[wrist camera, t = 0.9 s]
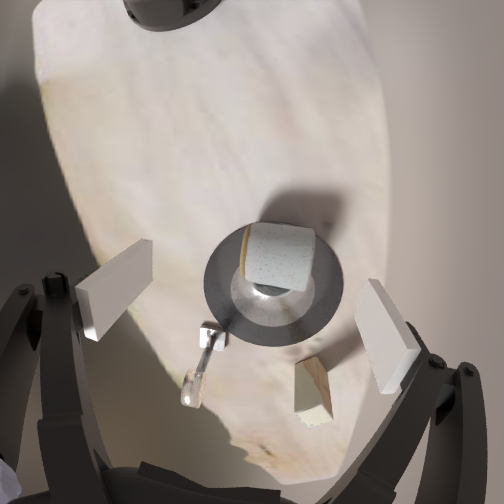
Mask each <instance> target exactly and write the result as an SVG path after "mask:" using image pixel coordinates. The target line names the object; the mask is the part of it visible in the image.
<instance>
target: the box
mask: <svg viewBox="0 0 504 504" xmlns="http://www.w3.org/2000/svg"><path fill="white" fill-rule="evenodd" d="M294 413H295V415H296V416H297V417H298V418H299V419H300V420H301V421H302V422H303V424H304V425H305V426H306V427H307V428H311V427H314V426H317V425H320V424H323V423H326V422H329V421H332V420H333V413H332V404H331V396H330V388H329V381H328V374H327V371H326V370H325V368H324V366H323V365H322V363H321V362H320V360H319V359H318V357H317V356H314V357H312V358H309V359H307V360H304V361H302V362H300V363H297V364H295V398H294Z"/></svg>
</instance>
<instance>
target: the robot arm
mask: <svg viewBox="0 0 504 504" xmlns="http://www.w3.org/2000/svg"><path fill="white" fill-rule="evenodd" d="M220 1H221V0H123V2H124V5H125V8H126V10H127V13H128V15H129V17H130V18H131V19H132V21H134V22H135V23H136V24H137V25H139V26H140V27H142V28H143V29H146V30H149V31H156V32H163V31H170V30H175V29H179V28H182V27H184V26H187V25H189V24H192V23H194V22H196V21H197V20H199V19H201V18H202V17H204V16H205V15H207V14H208V13H209V12H210V11H212V10H213V9H214V8H215V7H216V6H217V4H218V3H219V2H220ZM151 282H152V241H151V240H146V239H140V240H139V241H137V242H136V243H135V244H133V245H132V246H130V247H129V248H127V249H126V250H124V251H123V252H122V253H120V254H119V255H117V256H116V257H114V258H113V259H112V260H110V261H109V262H107V263H106V264H105V265H103V266H102V267H101V268H96V269H93V270H91V271H89V272H88V273H87V274H86V275H85V276H83V277H81V278H80V279H79V280H77V281H76V282H74V283H73V284H72V285H70V286H69V284H68V278H67V275H66V273H64V272H61V271H54V272H50V273H47V274H46V275H44V276H43V277H42V284H43V288H44V293H45V295H41V294H36V290H35V287H34V285H32V284H23V285H20V286H18V287H16V288H15V289H14V290H13V292H12V293H11V295H10V296H9V298H8V300H7V301H6V303H5V304H4V306H3V307H2V309H1V311H0V504H297V503H295V502H293V501H291V500H288V499H285V498H282V497H280V493H281V491H280V490H271V489H260V488H250V487H236V488H207V487H204V486H202V485H200V484H198V483H195V482H193V481H191V480H189V479H187V478H185V477H183V476H181V475H179V474H177V473H176V472H173V471H170V470H167V469H163V468H160V467H157V466H154V465H151V464H148V463H146V462H143V461H142V462H141V465H140V467H139V468H138V467H117V468H114V467H113V465H112V463H111V461H110V459H109V457H108V455H107V452H106V450H105V447H104V444H103V441H102V437H101V434H100V431H99V427H98V424H97V420H96V417H95V413H94V409H93V405H92V401H91V397H90V392H89V388H88V383H87V378H86V372H85V366H84V360H83V354H82V347H81V339H80V334H79V331H80V330H81V328H84V332H85V336H86V337H88V338H90V339H93V340H95V341H99V340H100V338H101V337H102V336H103V335H104V334H105V333H106V331H107V330H108V329H109V328H110V327H111V326H112V325H113V323H114V322H115V321H116V320H117V319H118V318H119V316H120V315H121V314H122V313H123V312H124V311H125V310H126V309H127V308H128V307H129V306H130V304H131V303H132V302H133V301H134V300H135V299H136V298H137V297H138V296H139V295H140V294H141V292H142V291H143V290H144V289H145V288H146V287H147V286H148V285H149V284H150V283H151ZM354 319H355V321H356V324H357V327H358V329H359V332H360V335H361V338H362V340H363V343H364V346H365V349H366V352H367V355H368V358H369V360H370V363H371V366H372V369H373V372H374V375H375V379H376V381H377V385H378V388H379V391H380V394H394V393H395V391H396V390H397V388H398V387H399V385H400V386H401V389H402V392H401V393H400V395H399V396H398V398H397V399H396V400H395V402H394V403H393V405H392V408H391V410H390V411H389V413H388V414H387V416H386V418H385V419H384V421H383V422H382V424H381V425H380V427H379V428H378V430H377V431H376V433H375V434H374V436H373V437H372V438H371V440H370V441H369V443H368V444H367V445H366V447H365V448H364V449H363V451H362V452H361V453H360V455H359V456H358V457H357V458H356V460H355V461H354V462H353V464H352V465H351V466H350V467H349V468H348V470H347V471H346V472H345V473H344V474H343V476H342V477H341V478H340V479H339V480H338V481H337V482H336V483H335V485H334V486H333V487H332V488H331V489H330V490H329V491H328V492H327V493H326V494H325V495H324V496H323V497H322V498H321V499H320V500H319V501H318V502H317V503H316V504H392V502H393V501H394V499H395V497H396V492H394V489H395V487H396V485H397V483H398V482H399V480H400V478H401V477H402V475H403V473H404V471H405V470H406V468H407V466H408V464H409V462H410V460H411V458H412V456H413V454H414V452H415V450H416V448H417V446H418V444H419V442H420V440H421V438H422V436H423V433H424V431H425V428H426V426H427V424H428V421H429V419H430V417H431V420H430V430H429V437H428V444H427V450H426V456H425V462H424V468H423V472H422V477H421V481H420V485H419V489H418V493H417V497H416V500H415V504H484V503H485V494H486V483H487V429H486V416H485V408H484V400H483V393H482V386H481V381H480V375H479V372H478V370H477V369H476V367H475V366H473V364H470V363H468V362H462V363H461V364H460V365H459V366H458V368H457V369H452V368H448V367H447V364H446V362H445V361H444V360H443V359H442V358H441V357H439V356H438V355H436V354H431V353H430V352H429V351H428V349H427V347H426V346H425V344H424V342H423V341H422V340H421V337H420V336H419V335H418V332H417V331H416V329H415V328H414V327H413V326H412V325H411V324H410V323H409V322H405V321H404V319H403V317H402V316H401V314H400V313H399V311H398V309H397V308H396V306H395V305H394V303H393V302H392V300H391V299H390V297H389V295H388V294H387V293H386V291H385V289H384V288H383V286H382V285H381V283H380V282H379V280H376V279H370V278H367V280H366V283H365V286H364V289H363V292H362V295H361V298H360V301H359V303H358V306H357V309H356V312H355V314H354ZM39 357H40V383H41V401H42V412H43V419H42V420H38V422H37V429H38V437H39V444H40V450H41V455H42V461H43V466H44V470H45V474H46V479H47V483H48V487H49V490H48V491H45V492H41V493H37V494H34V495H30V496H25V497H21V498H18V495H19V494H20V493H21V491H22V490H21V486H20V484H19V483H18V481H17V477H16V474H15V472H16V468H17V464H18V459H19V452H20V444H21V437H22V430H23V423H24V418H25V412H26V407H27V402H28V398H29V393H30V389H31V385H32V381H33V377H34V374H35V370H36V367H37V363H38V360H39Z"/></svg>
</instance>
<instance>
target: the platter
mask: <svg viewBox="0 0 504 504" xmlns="http://www.w3.org/2000/svg"><path fill="white" fill-rule="evenodd" d="M263 223H271V224H279V225H289V226H296V225H292V224H288V223H282V222H263ZM297 227H298V226H297ZM246 228H247V226H246V227H244V228H242V229H239V230H237V231H235V232H234V233H232V234H231V235H229V236H228V237H227V238H226V239H224V240H223V241H222V242H221V243H220V244H219V245H218V247H217V248H216V249H215V251H214V252H213V254H212V255H211V257H210V259H209V261H208V263H207V266H206V270H205V274H204V293H205V298H206V301H207V304H208V306H209V308H210V311H211V312H212V314H213V315H214V317H215V318H216V320H217V321H218V322H219V323H220V324H221V325H222V326H223V327H224V328H225V329H226V330H227V331H229V332H230V333H231V334H233V335H234V336H236V337H238V338H240V339H242V340H244V341H246V342H249V343H252V344H256V345H261V346H270V347H279V346H287V345H292V344H296V343H298V342H301V341H304V340H306V339H308V338H310V337H312V336H313V335H315V334H316V333H318V332H319V331H320V330H321V329H323V328H324V327H325V326H326V325H327V323H328V322H329V321H330V320H331V318H332V317H333V316H334V314H335V312H336V310H337V308H338V305H339V303H340V299H341V295H342V275H341V271H340V267H339V265H338V262H337V260H336V258H335V256H334V254H333V253H332V251H331V250H330V249H329V247H328V246H327V245H326V244H325V243H324V242H323V241H322V240H321V239H320V238H318V237H317V236H316V235H315V251H314V258H313V264H312V270H311V275H310V280H309V283H308V286H307V289H306V290H305V291H303V292H301V291H296V290H293V291H292V292H291V293H290V294H288V295H286V296H283V297H271V296H266V295H264V294H261V293H259V292H258V291H257V290H255V289H254V287H253V285H252V283H251V281H248V280H246V279H244V278H243V277H242V276H241V274H240V255H241V247H242V241H243V237H244V233H245V230H246ZM267 286H271V285H267ZM271 287H275V288H280V287H276V286H271Z"/></svg>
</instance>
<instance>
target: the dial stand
mask: <svg viewBox="0 0 504 504" xmlns="http://www.w3.org/2000/svg"><path fill="white" fill-rule="evenodd" d="M226 331H227V330H226V329H225V328H220V327H215V326H210V325H204V324H202V325H201V328H200V347H205V349H204V352H203V354H202V357H201V359H200V362H199V364H198V367H197V369H196V371H195V370H191V369H189V370H188V371H187V373H186V376H185V378H184V382H183V386H182V391H181V403H182V405H186V406H191V407H194V408H199V406H200V404H201V401H202V398H203V394H204V389H205V382H206V374H205V370H206V367H207V364H208V362H209V359H210V356H211V353H212V350H213V349H214V350H219V351H224V349H225V341H226Z"/></svg>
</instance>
